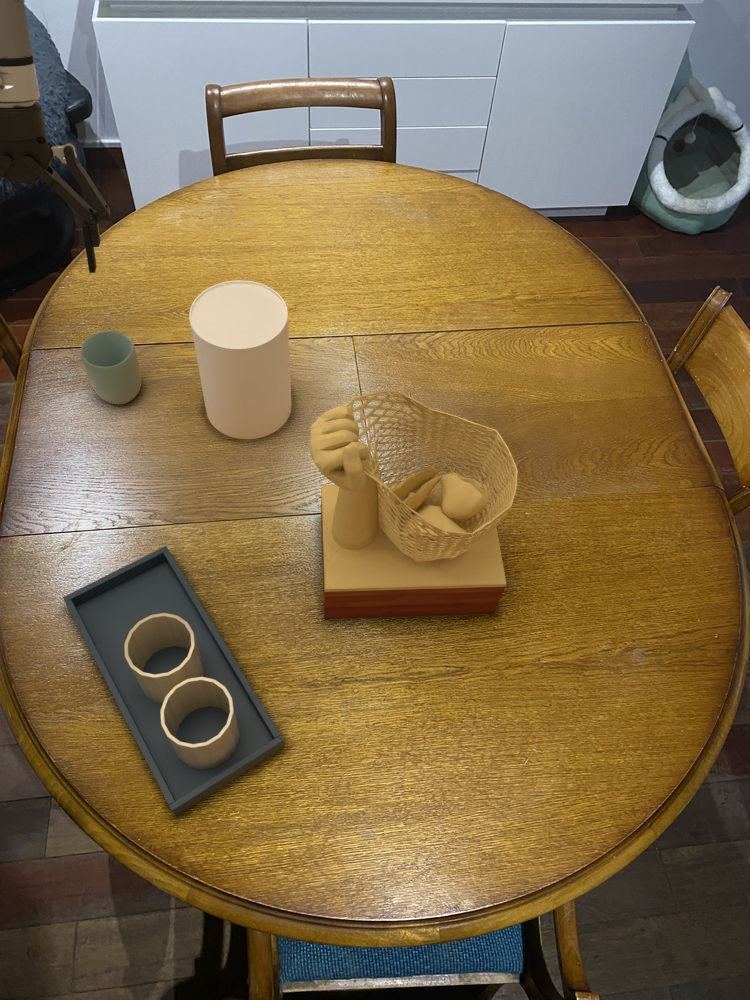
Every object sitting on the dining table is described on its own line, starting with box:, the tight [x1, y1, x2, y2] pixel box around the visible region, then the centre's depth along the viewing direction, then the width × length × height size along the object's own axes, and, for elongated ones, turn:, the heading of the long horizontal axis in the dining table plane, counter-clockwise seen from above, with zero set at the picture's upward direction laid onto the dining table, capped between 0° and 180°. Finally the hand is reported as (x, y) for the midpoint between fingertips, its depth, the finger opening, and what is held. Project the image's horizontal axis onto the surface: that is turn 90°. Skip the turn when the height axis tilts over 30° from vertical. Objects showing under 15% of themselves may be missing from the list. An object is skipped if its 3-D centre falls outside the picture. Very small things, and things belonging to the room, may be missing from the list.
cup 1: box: [79, 330, 143, 405], centre depth 121 cm, size 8×8×10 cm
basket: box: [308, 389, 519, 620], centre depth 97 cm, size 25×18×35 cm
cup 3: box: [160, 677, 240, 770], centre depth 92 cm, size 8×8×10 cm
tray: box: [62, 545, 285, 817], centre depth 99 cm, size 32×15×3 cm, turn 34°
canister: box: [188, 279, 292, 440], centre depth 117 cm, size 14×14×20 cm
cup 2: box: [124, 613, 204, 703], centre depth 96 cm, size 8×8×10 cm
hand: (42, 270), depth 109 cm, fingers open, 13 cm apart
